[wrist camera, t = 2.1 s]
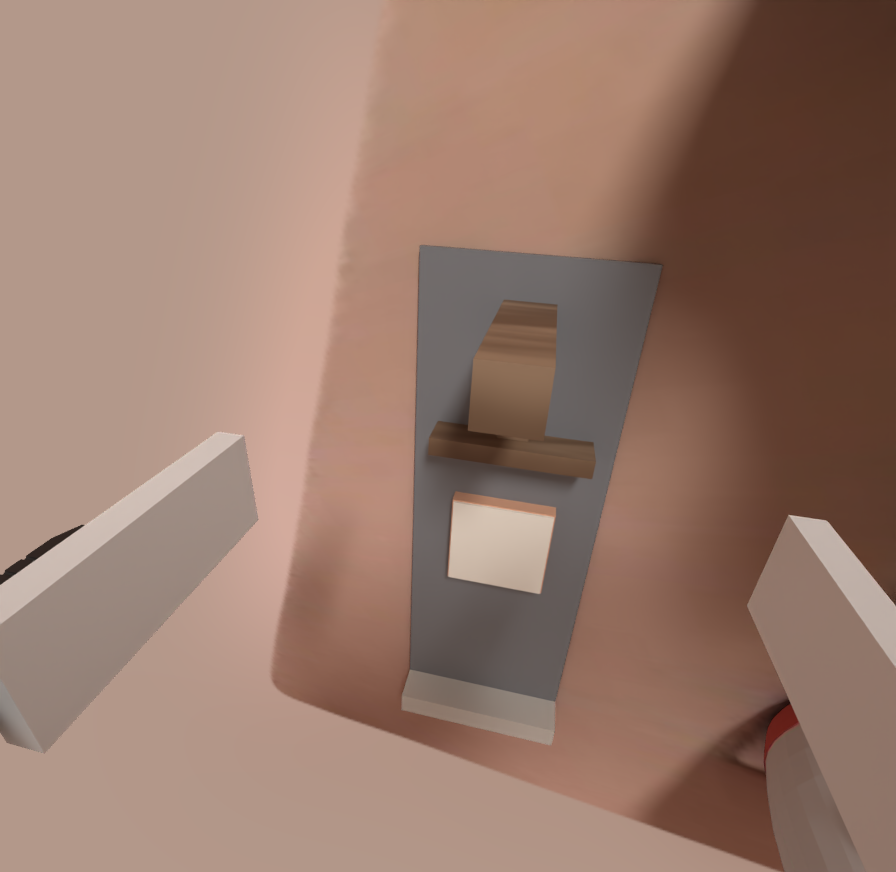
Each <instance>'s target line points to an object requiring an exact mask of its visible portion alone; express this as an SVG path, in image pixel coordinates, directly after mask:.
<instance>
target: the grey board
mask: <svg viewBox="0 0 896 872" xmlns="http://www.w3.org/2000/svg"><path fill="white" fill-rule="evenodd" d="M662 266H663V265H662V264H653V263H641V262H628V261H616V260H603V259H591V258H578V257H566V256H553V255H541V254H528V253H516V252H503V251H491V250H478V249H466V248H453V247H441V246H428V245H420V261H419V304H418V347H417V391H416V434H415V477H414V520H413V563H412V606H411V649H410V671H409V674H408V677H407V681H406V684H405V687H404V690H403V693H402V710H403V711H408V712H412V713H416V714H420V715H425V716H429V717H433V718H437V719H441V720H446V721H450V722H454V723H458V724H462V725H467V726H471V727H475V728H479V729H483V730H488V731H492V732H496V733H500V734H504V735H509V736H513V737H517V738H521V739H525V740H530V741H534V742H538V743H542V744H546V745H551V744H552V740H553V736H554V733H555V700H556V696H557V692H558V688H559V684H560V680H561V676H562V672H563V668H564V664H565V660H566V656H567V652H568V648H569V644H570V640H571V635H572V631H573V627H574V623H575V619H576V615H577V611H578V607H579V603H580V599H581V595H582V591H583V587H584V583H585V579H586V575H587V571H588V566H589V562H590V558H591V554H592V550H593V546H594V542H595V538H596V534H597V530H598V526H599V522H600V518H601V514H602V510H603V506H604V501H605V497H606V493H607V489H608V485H609V481H610V477H611V473H612V469H613V465H614V461H615V457H616V453H617V449H618V445H619V441H620V437H621V432H622V428H623V424H624V420H625V416H626V412H627V408H628V404H629V400H630V396H631V392H632V388H633V384H634V380H635V376H636V372H637V367H638V363H639V359H640V355H641V351H642V347H643V343H644V339H645V335H646V331H647V327H648V323H649V319H650V315H651V311H652V307H653V303H654V298H655V294H656V290H657V286H658V282H659V278H660V274H661V270H662ZM503 300H515V301H525V302H536V303H546V304H557V337H556V369H555V375H554V381H553V387H552V393H551V399H550V405H549V412H548V418H547V424H546V430H545V436H551V437H558V438H566V439H573V440H580V441H587V442H593V443H594V450H595V458H596V464H595V469H594V473H593V478H592V479H586V478H579V477H573V476H566V475H559V474H553V473H546V472H539V471H533V470H526V469H519V468H513V467H506V466H500V465H493V464H486V463H480V462H473V461H466V460H460V459H453V458H446V457H440V456H433V455H428V447H429V437H430V435H431V433H432V431H433V429H434V427H435V425H436V423H437V422H438V421H443V422H450V423H457V424H464V425H468V421H469V408H470V396H471V383H472V371H473V358H474V357H475V355H476V353H477V351H478V349H479V347H480V345H481V343H482V341H483V339H484V337H485V335H486V333H487V331H488V329H489V327H490V326H491V324H492V322H493V320H494V318H495V316H496V314H497V312H498V310H499V308H500V306H501V304H502V302H503ZM455 491H457V492H463V493H469V494H475V495H482V496H488V497H494V498H500V499H506V500H513V501H519V502H525V503H531V504H538V505H544V506H550V507H556V518H555V523H554V529H553V534H552V539H551V544H550V549H549V555H548V560H547V565H546V570H545V575H544V581H543V586H542V591H541V593H540V594H536V593H531V592H526V591H521V590H515V589H510V588H505V587H499V586H494V585H489V584H484V583H478V582H473V581H468V580H463V579H457V578H452V577H448V576H447V575H448V560H449V546H450V531H451V517H452V502H453V497H454V494H455Z"/></svg>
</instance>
